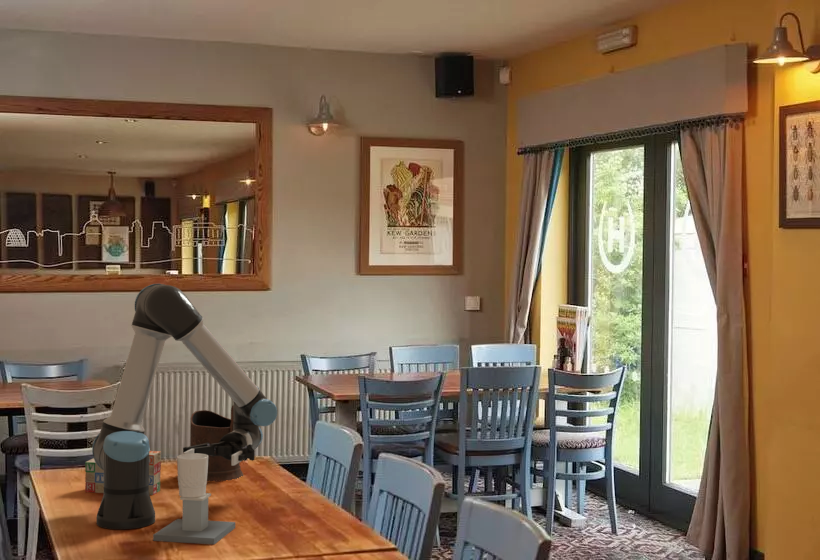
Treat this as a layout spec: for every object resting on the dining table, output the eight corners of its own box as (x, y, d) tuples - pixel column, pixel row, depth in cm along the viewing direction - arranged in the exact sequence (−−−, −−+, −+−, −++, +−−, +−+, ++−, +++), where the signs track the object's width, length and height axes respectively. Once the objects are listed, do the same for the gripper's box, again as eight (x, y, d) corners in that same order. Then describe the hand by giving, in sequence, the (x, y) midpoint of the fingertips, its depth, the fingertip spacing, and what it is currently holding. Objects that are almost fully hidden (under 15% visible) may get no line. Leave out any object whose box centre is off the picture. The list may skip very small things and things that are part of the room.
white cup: (190, 500, 259) (191, 460, 259) (170, 495, 264) (170, 456, 264) (214, 494, 265) (214, 455, 265) (193, 490, 270) (194, 452, 270)
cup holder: (218, 467, 348) (219, 393, 347) (267, 477, 333) (268, 400, 332) (173, 475, 334) (174, 398, 333) (222, 487, 318) (223, 406, 318)
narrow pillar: (153, 540, 258) (153, 500, 258) (177, 524, 274) (177, 486, 273) (214, 544, 255) (214, 504, 255) (235, 527, 271) (235, 489, 271)
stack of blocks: (84, 492, 309) (84, 451, 308) (93, 488, 315) (93, 448, 314) (153, 495, 306) (154, 454, 306) (161, 490, 313) (161, 450, 312)
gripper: (277, 460, 291) (253, 475, 270) (193, 456, 296) (163, 471, 275) (277, 433, 291) (253, 447, 270) (193, 430, 295) (163, 443, 274)
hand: (208, 459), depth 272 cm, fingers open, 13 cm apart
